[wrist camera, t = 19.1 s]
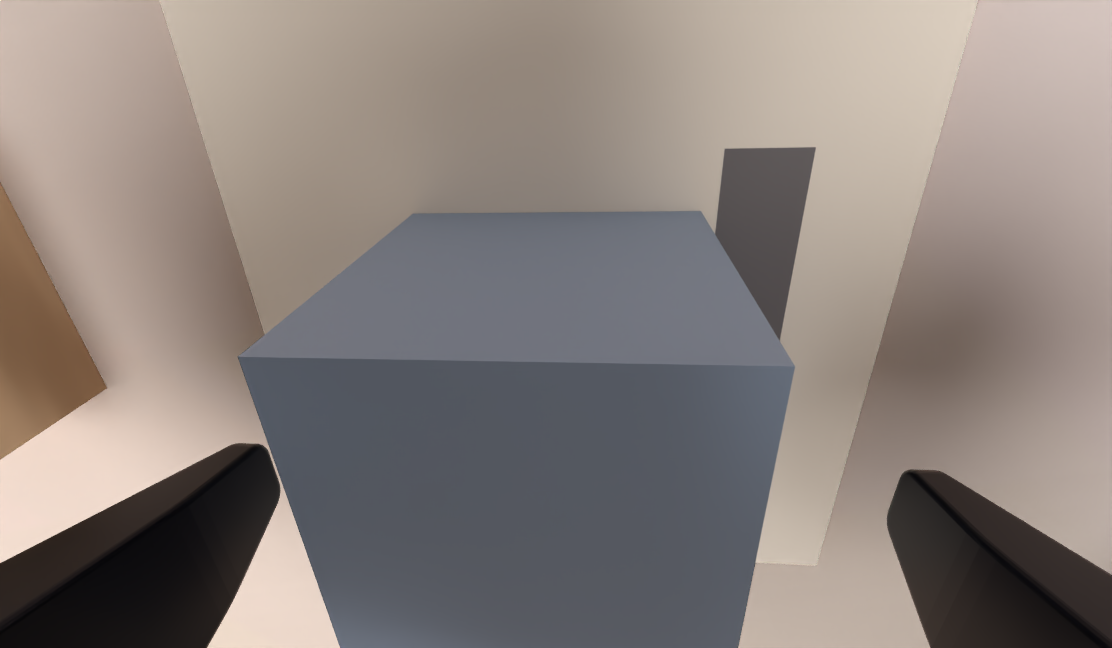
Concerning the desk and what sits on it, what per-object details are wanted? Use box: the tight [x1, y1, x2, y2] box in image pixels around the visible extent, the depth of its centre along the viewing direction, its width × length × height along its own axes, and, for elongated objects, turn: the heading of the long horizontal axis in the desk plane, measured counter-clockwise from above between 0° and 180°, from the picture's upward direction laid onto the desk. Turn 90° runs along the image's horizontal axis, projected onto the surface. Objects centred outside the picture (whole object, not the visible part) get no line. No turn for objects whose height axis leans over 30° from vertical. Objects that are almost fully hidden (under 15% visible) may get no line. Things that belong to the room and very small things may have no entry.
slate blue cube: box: [238, 211, 795, 648], centre depth 8 cm, size 5×5×5 cm
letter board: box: [159, 0, 978, 566], centre depth 11 cm, size 12×12×1 cm
